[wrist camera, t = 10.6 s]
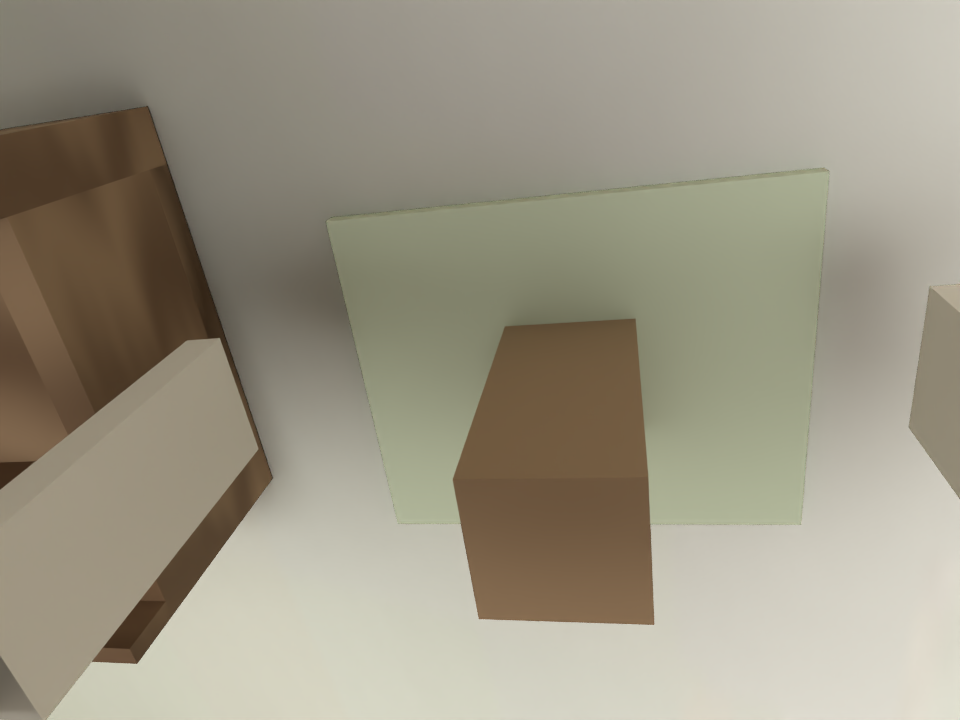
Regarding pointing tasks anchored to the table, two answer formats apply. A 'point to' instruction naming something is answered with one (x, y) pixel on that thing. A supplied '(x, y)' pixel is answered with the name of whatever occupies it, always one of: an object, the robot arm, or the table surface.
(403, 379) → the lid
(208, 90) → the table surface
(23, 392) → the walnut box
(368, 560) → the table surface
